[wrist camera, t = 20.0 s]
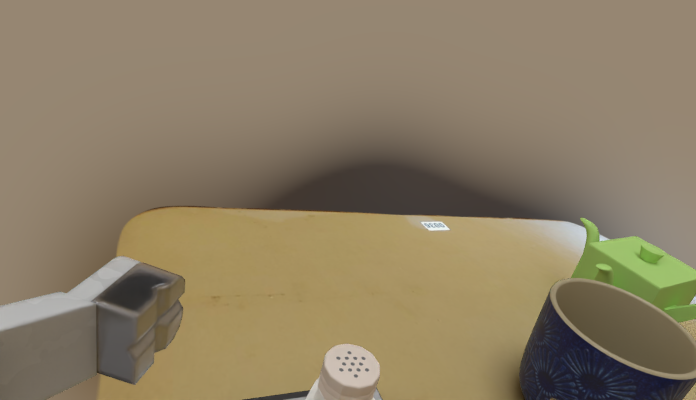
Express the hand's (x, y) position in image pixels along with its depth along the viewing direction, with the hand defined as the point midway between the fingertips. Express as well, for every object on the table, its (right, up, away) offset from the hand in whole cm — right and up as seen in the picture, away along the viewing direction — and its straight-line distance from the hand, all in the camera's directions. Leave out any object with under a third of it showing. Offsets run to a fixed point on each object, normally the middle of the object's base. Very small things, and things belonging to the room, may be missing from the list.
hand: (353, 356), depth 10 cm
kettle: (+33, -12, +50) cm, 61 cm away
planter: (+21, -17, +35) cm, 44 cm away
